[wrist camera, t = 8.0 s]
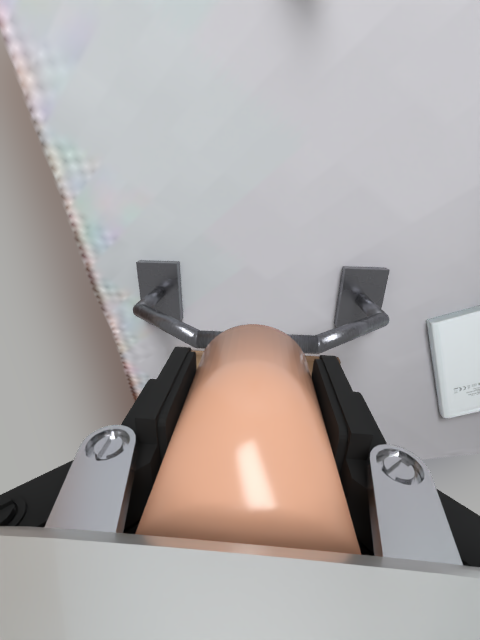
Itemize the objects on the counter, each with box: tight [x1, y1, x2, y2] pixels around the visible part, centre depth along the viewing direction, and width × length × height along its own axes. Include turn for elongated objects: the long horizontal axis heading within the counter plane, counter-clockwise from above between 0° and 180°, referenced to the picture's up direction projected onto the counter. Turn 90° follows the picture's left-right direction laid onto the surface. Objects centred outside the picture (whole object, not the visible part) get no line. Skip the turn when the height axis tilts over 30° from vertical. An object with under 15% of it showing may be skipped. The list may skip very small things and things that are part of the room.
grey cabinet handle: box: [133, 260, 389, 354], centre depth 25 cm, size 6×24×12 cm, turn 89°
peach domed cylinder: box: [135, 324, 361, 555], centre depth 9 cm, size 4×4×7 cm
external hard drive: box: [426, 305, 480, 418], centre depth 31 cm, size 2×8×12 cm
